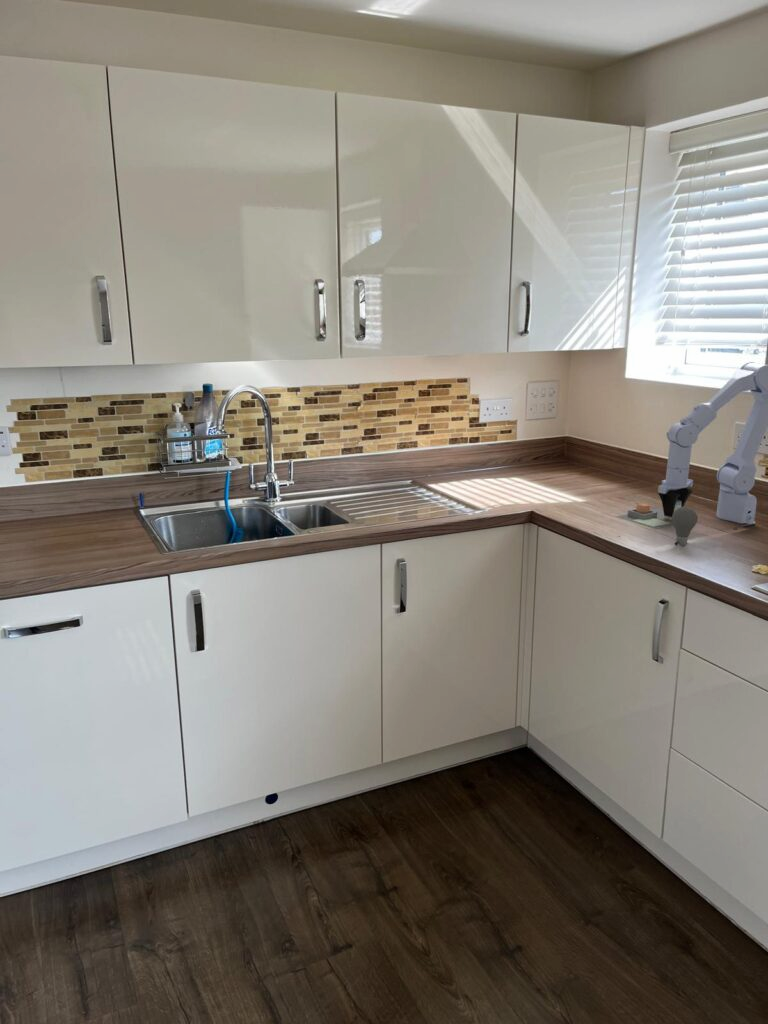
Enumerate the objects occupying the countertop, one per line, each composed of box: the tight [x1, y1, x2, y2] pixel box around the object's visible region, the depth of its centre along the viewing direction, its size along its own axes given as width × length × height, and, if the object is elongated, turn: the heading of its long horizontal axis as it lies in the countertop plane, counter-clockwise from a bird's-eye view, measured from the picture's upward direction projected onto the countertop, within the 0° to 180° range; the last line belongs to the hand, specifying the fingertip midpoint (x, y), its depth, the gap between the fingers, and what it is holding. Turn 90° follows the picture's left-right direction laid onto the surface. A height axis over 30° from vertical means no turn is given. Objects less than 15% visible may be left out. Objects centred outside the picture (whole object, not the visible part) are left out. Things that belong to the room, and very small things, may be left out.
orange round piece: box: [635, 502, 651, 514], centre depth 214 cm, size 4×4×3 cm
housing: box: [615, 508, 674, 530], centre depth 213 cm, size 14×17×3 cm
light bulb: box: [671, 506, 698, 546], centre depth 192 cm, size 6×6×10 cm
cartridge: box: [664, 500, 682, 521], centre depth 213 cm, size 4×4×6 cm
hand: (672, 514), depth 213 cm, fingers closed on cartridge, 4 cm apart
